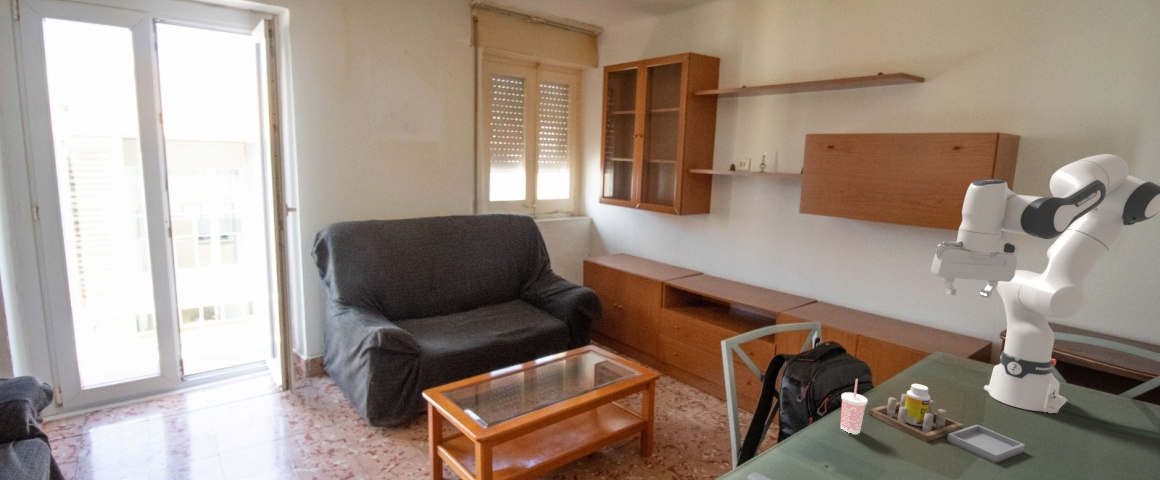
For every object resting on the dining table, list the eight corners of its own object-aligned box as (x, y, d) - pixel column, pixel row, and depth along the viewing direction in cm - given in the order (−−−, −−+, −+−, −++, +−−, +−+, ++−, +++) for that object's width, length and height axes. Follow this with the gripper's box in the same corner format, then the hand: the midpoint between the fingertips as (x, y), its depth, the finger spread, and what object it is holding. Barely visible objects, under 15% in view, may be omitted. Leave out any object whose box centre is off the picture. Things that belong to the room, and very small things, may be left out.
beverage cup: (832, 426, 148) (838, 375, 146) (849, 422, 151) (855, 373, 148) (851, 437, 143) (858, 385, 140) (868, 433, 145) (875, 382, 143)
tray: (975, 431, 149) (976, 424, 149) (1023, 452, 139) (1024, 444, 139) (947, 441, 143) (948, 433, 143) (994, 463, 133) (996, 455, 133)
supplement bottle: (920, 428, 149) (925, 392, 147) (898, 420, 154) (903, 384, 152) (930, 424, 152) (935, 388, 150) (909, 415, 157) (914, 380, 155)
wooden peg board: (904, 404, 164) (906, 388, 163) (962, 429, 150) (965, 412, 149) (868, 414, 156) (870, 397, 155) (926, 441, 142) (929, 423, 141)
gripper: (947, 242, 139) (937, 296, 141) (1025, 247, 140) (1014, 301, 142) (930, 238, 145) (921, 290, 147) (1004, 243, 147) (995, 295, 149)
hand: (967, 296), depth 145 cm, fingers open, 8 cm apart
